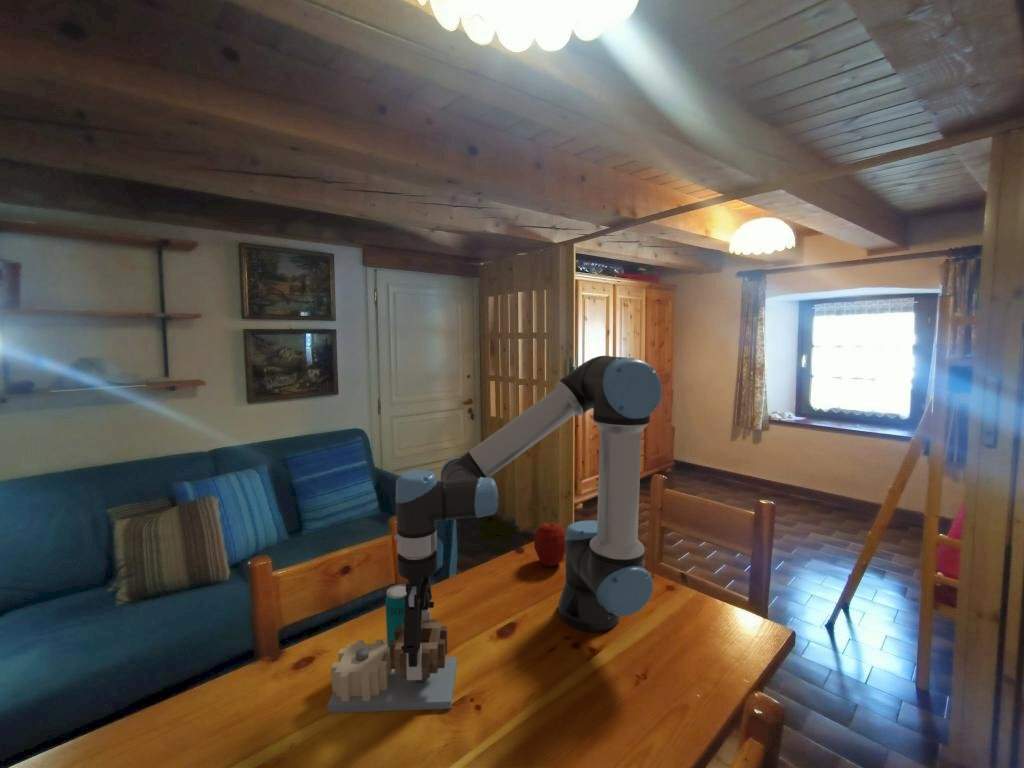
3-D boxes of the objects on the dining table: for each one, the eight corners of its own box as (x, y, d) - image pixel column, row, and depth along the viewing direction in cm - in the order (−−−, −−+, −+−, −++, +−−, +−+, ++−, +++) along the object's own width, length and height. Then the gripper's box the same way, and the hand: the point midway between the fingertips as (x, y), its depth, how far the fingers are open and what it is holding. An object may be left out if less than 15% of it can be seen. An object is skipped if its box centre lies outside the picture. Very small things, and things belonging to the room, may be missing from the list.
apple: (571, 570, 136) (571, 525, 135) (538, 573, 135) (538, 528, 133) (562, 554, 147) (562, 512, 145) (531, 557, 145) (530, 514, 143)
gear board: (457, 663, 98) (456, 630, 98) (451, 708, 86) (450, 671, 86) (347, 666, 98) (345, 633, 97) (326, 712, 86) (324, 675, 85)
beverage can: (408, 666, 98) (405, 599, 96) (383, 662, 99) (380, 596, 97) (418, 648, 103) (416, 584, 102) (395, 645, 104) (392, 582, 103)
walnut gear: (448, 641, 97) (448, 618, 96) (442, 677, 86) (442, 652, 86) (399, 642, 97) (398, 619, 96) (387, 678, 86) (386, 653, 86)
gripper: (409, 527, 101) (411, 622, 103) (382, 583, 78) (386, 704, 80) (443, 526, 101) (445, 621, 103) (427, 582, 78) (429, 703, 80)
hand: (419, 657), depth 91 cm, fingers closed on walnut gear, 10 cm apart
